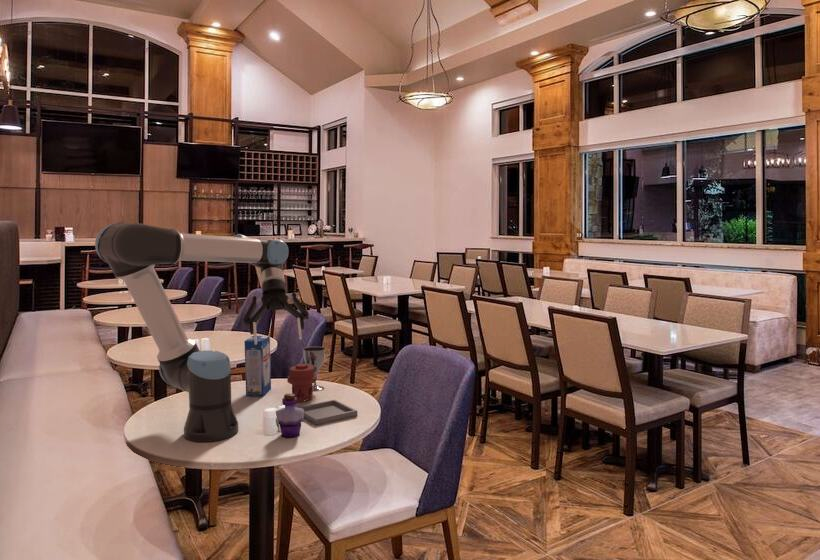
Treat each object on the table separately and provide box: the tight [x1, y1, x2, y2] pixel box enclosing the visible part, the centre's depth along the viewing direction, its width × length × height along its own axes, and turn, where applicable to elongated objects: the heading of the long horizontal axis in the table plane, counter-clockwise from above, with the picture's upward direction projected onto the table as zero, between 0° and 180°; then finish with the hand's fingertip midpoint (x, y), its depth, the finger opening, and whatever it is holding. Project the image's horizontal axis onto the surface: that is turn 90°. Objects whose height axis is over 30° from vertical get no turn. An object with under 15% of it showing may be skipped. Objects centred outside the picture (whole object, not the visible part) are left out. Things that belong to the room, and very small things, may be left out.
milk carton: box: [244, 335, 272, 398], centre depth 213 cm, size 10×6×20 cm, turn 178°
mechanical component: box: [286, 363, 318, 403], centre depth 205 cm, size 12×10×10 cm
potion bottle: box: [275, 393, 304, 439], centre depth 171 cm, size 9×9×12 cm
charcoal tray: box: [295, 399, 358, 426], centre depth 190 cm, size 15×15×2 cm
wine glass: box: [303, 345, 326, 391], centre depth 219 cm, size 8×8×15 cm
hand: (278, 339), depth 183 cm, fingers open, 13 cm apart
